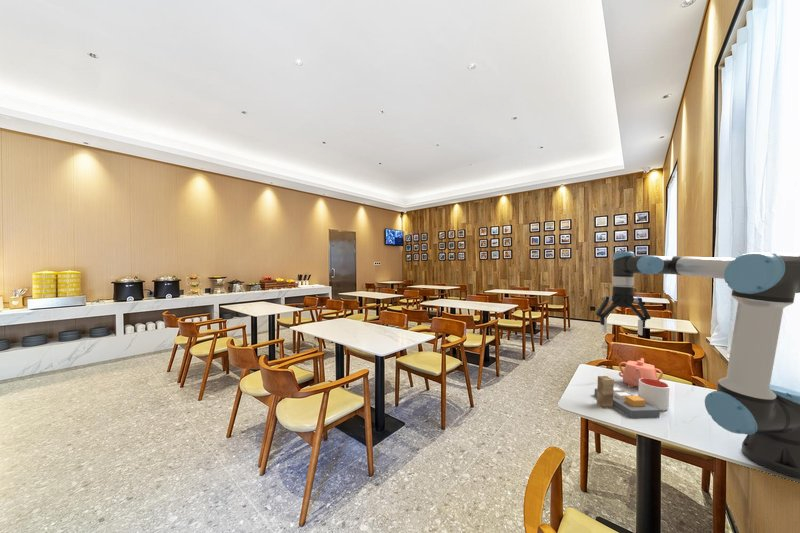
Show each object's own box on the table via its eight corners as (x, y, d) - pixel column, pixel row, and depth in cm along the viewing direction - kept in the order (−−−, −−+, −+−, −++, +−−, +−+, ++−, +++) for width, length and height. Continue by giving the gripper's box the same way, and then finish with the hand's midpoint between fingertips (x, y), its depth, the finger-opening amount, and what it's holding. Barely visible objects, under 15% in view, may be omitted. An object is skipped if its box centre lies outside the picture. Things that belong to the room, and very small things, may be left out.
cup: (674, 413, 123) (675, 389, 123) (646, 410, 125) (647, 386, 125) (658, 401, 133) (659, 379, 133) (633, 399, 135) (634, 377, 135)
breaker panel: (659, 417, 120) (660, 406, 120) (631, 418, 119) (631, 406, 119) (619, 394, 140) (619, 384, 140) (594, 395, 139) (594, 385, 139)
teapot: (635, 393, 141) (637, 366, 141) (612, 379, 158) (613, 355, 157) (669, 394, 141) (670, 367, 140) (641, 380, 157) (642, 355, 157)
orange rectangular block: (644, 408, 122) (645, 400, 122) (633, 408, 122) (633, 400, 122) (636, 403, 126) (636, 395, 126) (625, 403, 126) (625, 395, 126)
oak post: (612, 408, 127) (613, 379, 126) (603, 408, 126) (604, 379, 126) (605, 403, 131) (606, 376, 130) (596, 403, 130) (597, 376, 130)
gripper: (652, 286, 136) (651, 333, 136) (588, 284, 143) (587, 329, 144) (661, 287, 129) (659, 337, 129) (593, 285, 136) (592, 332, 136)
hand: (622, 333), depth 136 cm, fingers open, 13 cm apart
